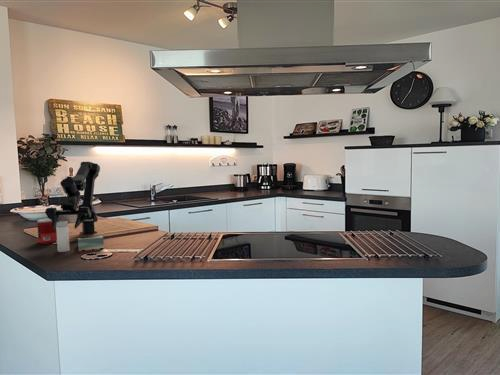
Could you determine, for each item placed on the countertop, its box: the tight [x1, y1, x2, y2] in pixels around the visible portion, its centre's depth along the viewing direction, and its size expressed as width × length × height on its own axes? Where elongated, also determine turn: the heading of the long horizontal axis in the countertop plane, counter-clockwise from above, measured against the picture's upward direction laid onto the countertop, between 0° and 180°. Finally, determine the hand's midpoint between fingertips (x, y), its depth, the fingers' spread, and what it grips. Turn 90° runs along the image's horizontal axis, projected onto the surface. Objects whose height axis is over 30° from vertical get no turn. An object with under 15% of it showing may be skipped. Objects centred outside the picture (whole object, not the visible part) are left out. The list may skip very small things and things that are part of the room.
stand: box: [77, 235, 105, 252], centre depth 171 cm, size 11×10×5 cm
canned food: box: [36, 217, 57, 245], centre depth 181 cm, size 8×8×11 cm
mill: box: [56, 220, 71, 253], centre depth 165 cm, size 5×5×13 cm
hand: (64, 228), depth 167 cm, fingers open, 9 cm apart
